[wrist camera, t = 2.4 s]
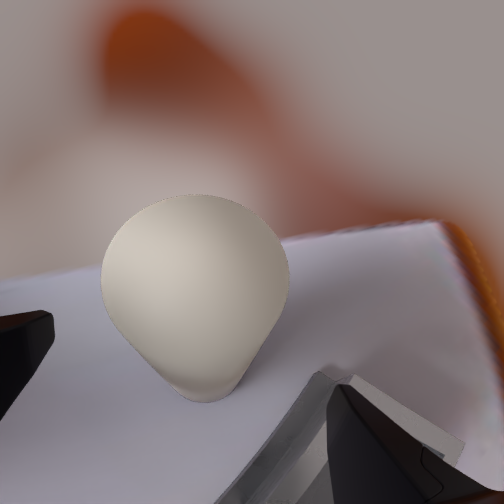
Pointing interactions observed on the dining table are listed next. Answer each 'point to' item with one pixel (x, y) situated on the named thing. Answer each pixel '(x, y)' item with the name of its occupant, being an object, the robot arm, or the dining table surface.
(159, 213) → the peg
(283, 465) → the socket
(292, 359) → the dining table surface
